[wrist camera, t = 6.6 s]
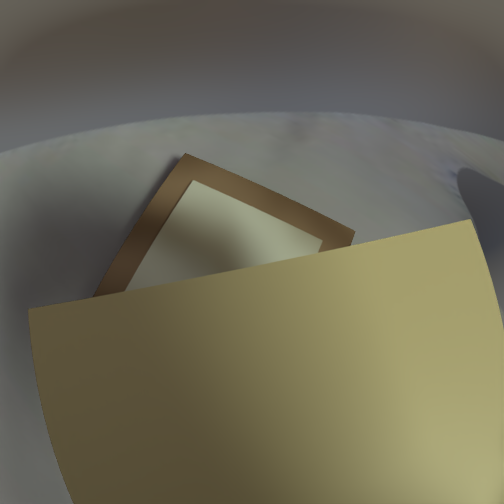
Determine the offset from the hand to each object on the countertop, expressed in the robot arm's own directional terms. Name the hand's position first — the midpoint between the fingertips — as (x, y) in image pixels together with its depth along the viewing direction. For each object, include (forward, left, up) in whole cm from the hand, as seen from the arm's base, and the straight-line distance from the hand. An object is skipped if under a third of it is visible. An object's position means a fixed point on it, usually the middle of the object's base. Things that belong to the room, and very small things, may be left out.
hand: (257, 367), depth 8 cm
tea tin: (-1, -1, -7) cm, 7 cm away
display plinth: (+4, +4, -13) cm, 14 cm away
